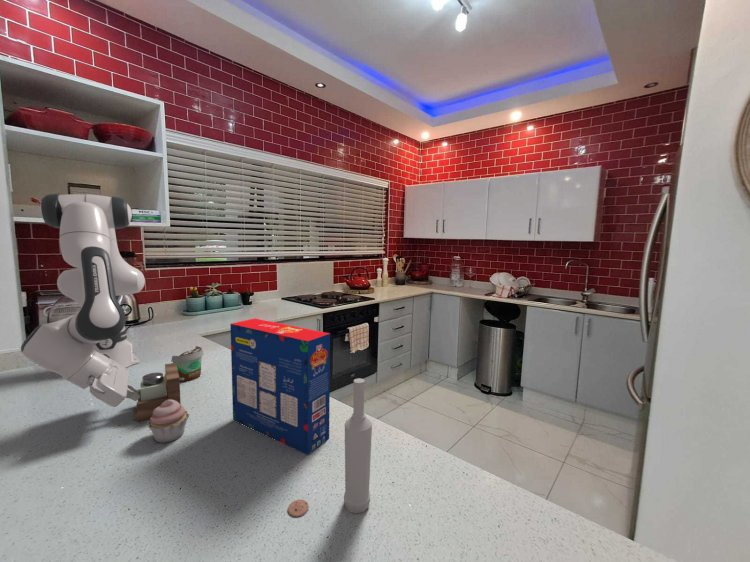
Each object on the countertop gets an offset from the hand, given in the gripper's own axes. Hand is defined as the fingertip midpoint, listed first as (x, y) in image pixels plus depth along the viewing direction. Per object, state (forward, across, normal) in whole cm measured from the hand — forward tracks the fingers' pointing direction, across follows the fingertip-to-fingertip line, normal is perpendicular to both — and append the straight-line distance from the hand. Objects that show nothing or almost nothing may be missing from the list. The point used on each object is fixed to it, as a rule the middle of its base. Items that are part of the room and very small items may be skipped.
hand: (138, 397), depth 96 cm
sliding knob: (+6, 0, +1) cm, 6 cm away
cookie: (+22, -58, -14) cm, 64 cm away
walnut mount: (+6, 0, +1) cm, 6 cm away
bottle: (+29, -63, -22) cm, 73 cm away
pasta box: (+26, -30, -19) cm, 43 cm away
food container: (+15, +20, -8) cm, 26 cm away
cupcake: (+8, -18, -1) cm, 20 cm away
